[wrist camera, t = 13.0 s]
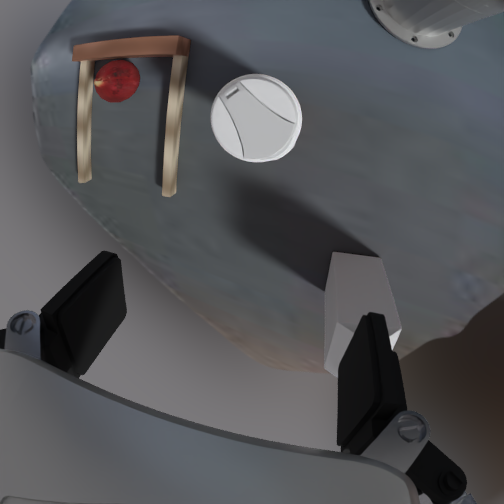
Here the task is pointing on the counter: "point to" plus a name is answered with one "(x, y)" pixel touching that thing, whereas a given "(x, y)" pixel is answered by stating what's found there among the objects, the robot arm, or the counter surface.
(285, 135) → the paper cup
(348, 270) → the milk carton
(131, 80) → the red apple
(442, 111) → the counter surface
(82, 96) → the wooden u-shaped frame
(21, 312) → the robot arm
